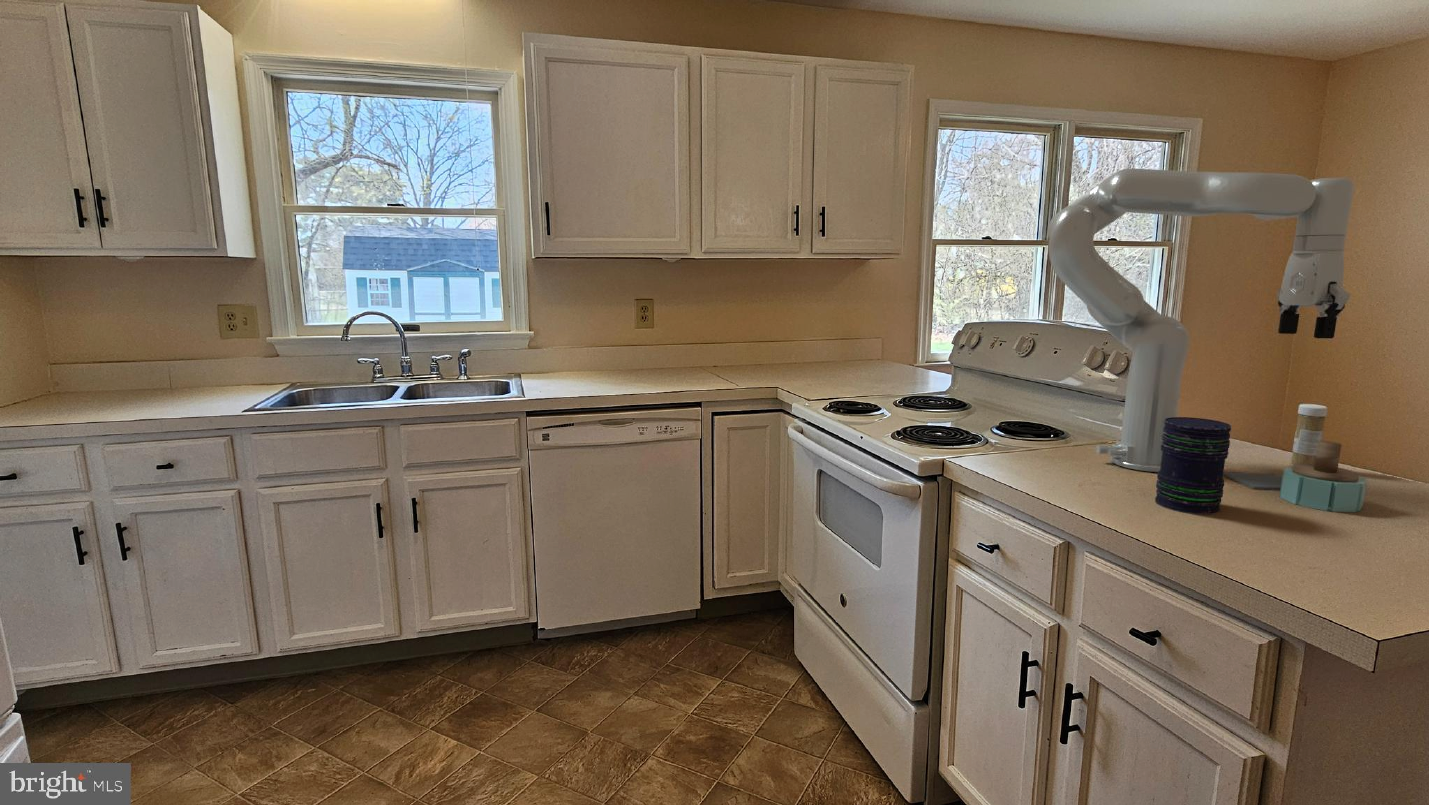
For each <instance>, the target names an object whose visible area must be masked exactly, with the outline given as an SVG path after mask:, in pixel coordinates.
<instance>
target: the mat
mask: <svg viewBox="0 0 1429 805" xmlns="http://www.w3.org/2000/svg"><path fill="white" fill-rule="evenodd" d="M1223 477H1226V478H1229V479H1231V480H1232V481H1235V482H1237V483H1239V484H1242V485H1244V486H1245V487H1248V488H1250V489H1253V490H1277V491H1278V490H1280V489H1281V482H1282V475H1281V476H1280V475H1278V474H1276V473H1272V472H1270V473H1269V472H1231V471H1230V472H1228V471H1224V472H1223Z"/></svg>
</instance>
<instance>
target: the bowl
mask: <svg viewBox="0 0 1429 805" xmlns="http://www.w3.org/2000/svg"><path fill="white" fill-rule="evenodd" d="M1292 469H1293V466H1287V467H1286V468H1284V469H1283V470H1282V471H1283V472H1282V475H1281V477H1282V482H1281V489H1280V491H1279V497H1280V499H1282V500H1285V501H1288V502H1290V503H1292V504H1294V505H1298V506H1300V507H1306V508H1310V509H1314V510H1315V509H1317V510H1321V511H1326V512H1327V511H1329V512H1333V513H1335V512H1336V513H1337V512H1338V513H1341V512H1342V513H1357V512H1360V511H1361V510H1362V508H1363V506H1364V501H1365V496H1366V490H1367V484H1368V479H1367V478H1366V477H1362V476H1360V475H1359V479H1358V481H1355V482H1334V481H1325V480H1319V479H1314V478H1309V477H1305V476H1302V475H1299V474H1296V473H1294V472H1293V471H1292Z"/></svg>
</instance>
